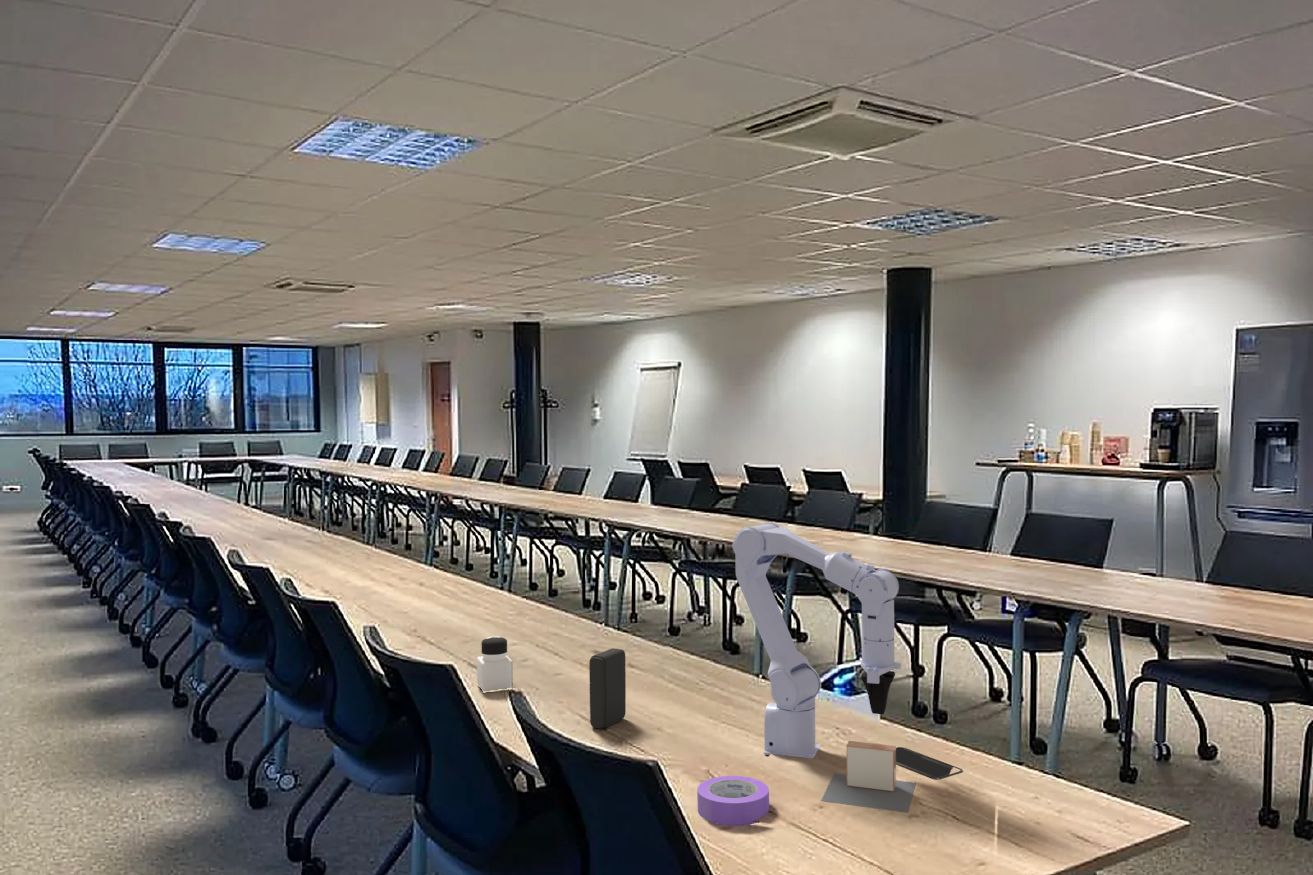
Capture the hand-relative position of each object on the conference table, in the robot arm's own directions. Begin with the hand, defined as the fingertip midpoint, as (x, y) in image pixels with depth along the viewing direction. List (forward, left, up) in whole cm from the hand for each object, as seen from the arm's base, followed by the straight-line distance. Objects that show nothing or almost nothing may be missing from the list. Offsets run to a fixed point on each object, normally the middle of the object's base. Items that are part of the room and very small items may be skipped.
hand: (878, 713), depth 170 cm
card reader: (-57, +9, -11) cm, 59 cm away
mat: (0, -12, -10) cm, 16 cm away
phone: (+6, +5, -11) cm, 14 cm away
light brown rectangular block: (0, -9, -10) cm, 14 cm away
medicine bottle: (-93, +24, -11) cm, 97 cm away
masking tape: (-20, -25, -11) cm, 34 cm away
